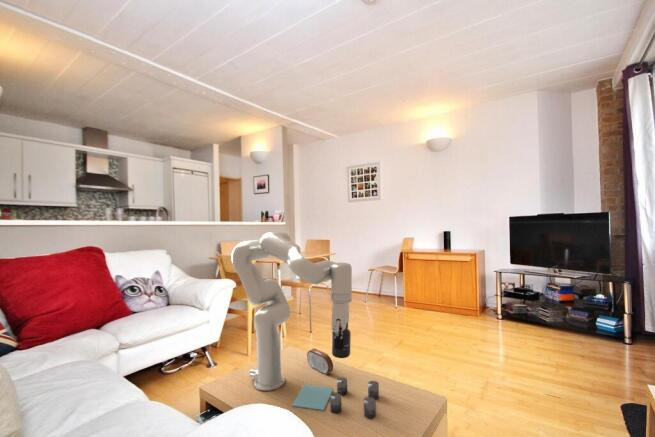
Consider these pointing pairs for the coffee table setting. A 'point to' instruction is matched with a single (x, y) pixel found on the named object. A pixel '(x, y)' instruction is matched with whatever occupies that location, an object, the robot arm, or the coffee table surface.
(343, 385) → the cylinder
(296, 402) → the teal board
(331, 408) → the cylinder
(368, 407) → the cylinder
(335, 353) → the supplement bottle
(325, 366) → the tin
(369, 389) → the spacer back right
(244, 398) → the coffee table surface
